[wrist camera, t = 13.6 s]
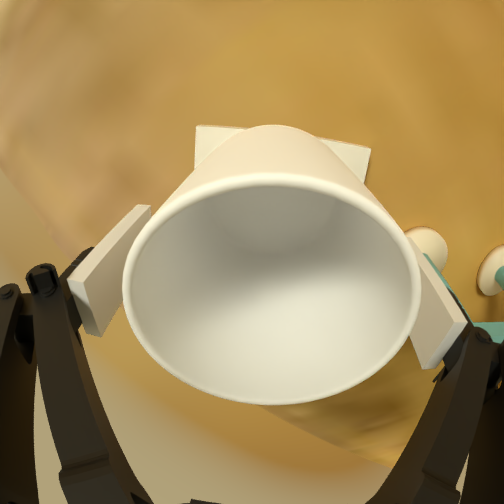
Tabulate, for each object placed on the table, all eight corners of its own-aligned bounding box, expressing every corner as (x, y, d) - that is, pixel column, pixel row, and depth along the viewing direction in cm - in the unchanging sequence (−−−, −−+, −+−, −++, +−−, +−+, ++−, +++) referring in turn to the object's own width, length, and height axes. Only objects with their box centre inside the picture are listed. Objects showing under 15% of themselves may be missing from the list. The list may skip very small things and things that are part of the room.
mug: (268, 308, 21) (262, 445, 12) (174, 168, 16) (69, 270, 7) (378, 265, 19) (433, 397, 10) (306, 96, 14) (368, 103, 5)
